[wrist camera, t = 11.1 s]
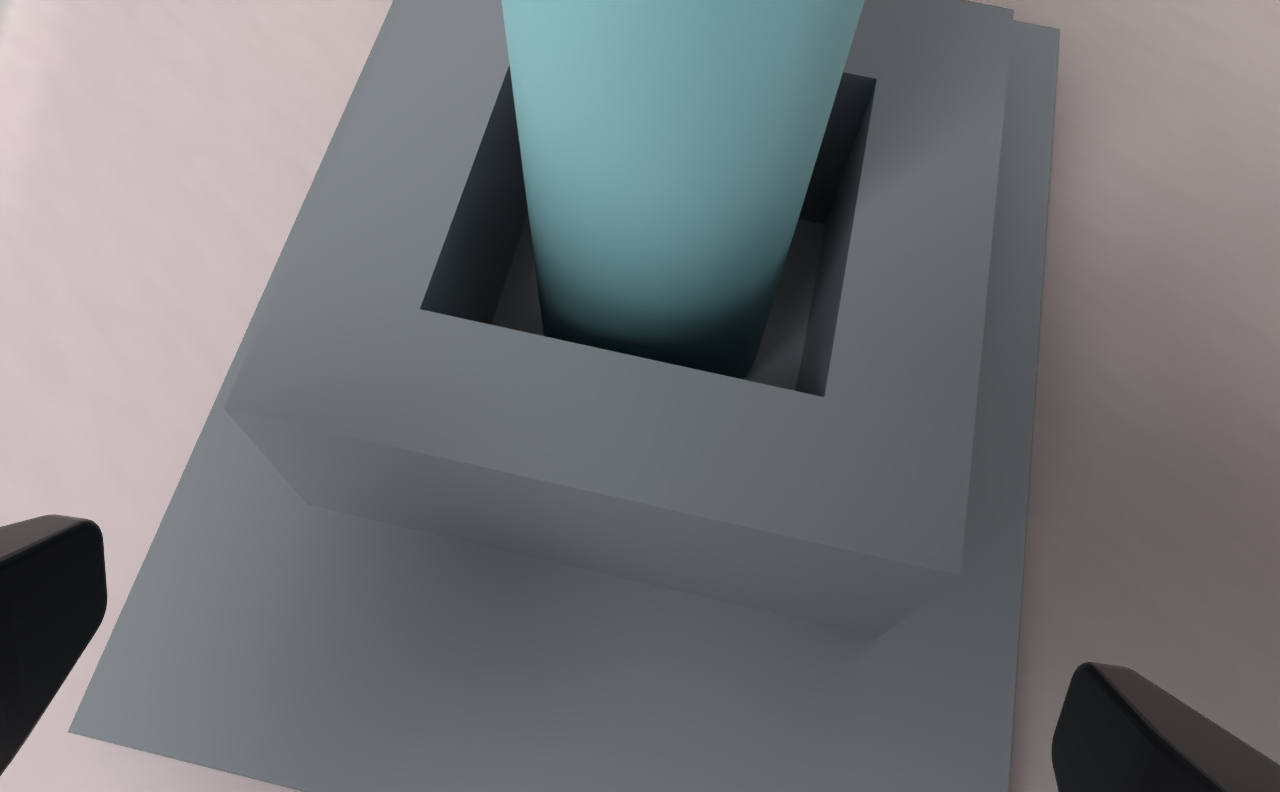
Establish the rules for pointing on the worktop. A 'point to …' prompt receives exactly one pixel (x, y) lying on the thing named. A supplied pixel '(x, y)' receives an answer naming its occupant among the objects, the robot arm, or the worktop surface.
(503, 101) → the socket holder
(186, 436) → the worktop surface
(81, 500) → the worktop surface
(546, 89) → the peg
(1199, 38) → the worktop surface
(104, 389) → the worktop surface
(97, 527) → the robot arm
